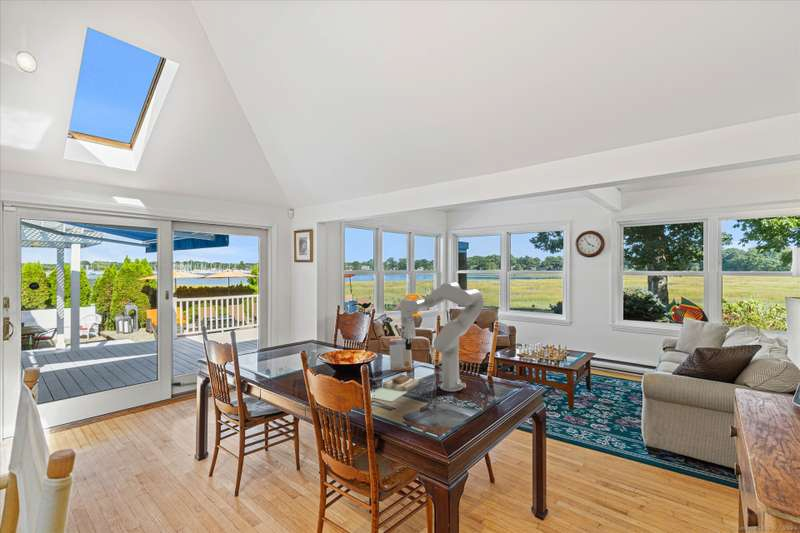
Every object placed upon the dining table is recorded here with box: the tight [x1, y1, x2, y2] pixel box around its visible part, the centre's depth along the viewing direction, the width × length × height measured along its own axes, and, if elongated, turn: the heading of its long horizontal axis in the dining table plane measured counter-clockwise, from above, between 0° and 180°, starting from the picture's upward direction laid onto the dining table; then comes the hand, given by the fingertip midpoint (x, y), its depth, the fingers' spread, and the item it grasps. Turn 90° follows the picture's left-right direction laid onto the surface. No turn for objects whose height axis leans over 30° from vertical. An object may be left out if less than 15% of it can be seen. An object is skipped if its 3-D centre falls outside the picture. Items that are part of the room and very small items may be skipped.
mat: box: [371, 386, 408, 403], centre depth 208 cm, size 18×16×1 cm
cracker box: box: [388, 337, 413, 372], centre depth 253 cm, size 14×6×21 cm, turn 84°
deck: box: [382, 375, 420, 392], centre depth 221 cm, size 16×14×2 cm
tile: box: [391, 374, 410, 384], centre depth 221 cm, size 6×9×2 cm, turn 147°
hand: (408, 349), depth 229 cm, fingers closed
